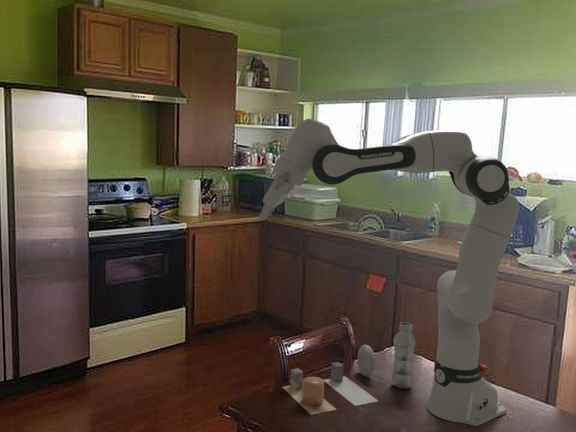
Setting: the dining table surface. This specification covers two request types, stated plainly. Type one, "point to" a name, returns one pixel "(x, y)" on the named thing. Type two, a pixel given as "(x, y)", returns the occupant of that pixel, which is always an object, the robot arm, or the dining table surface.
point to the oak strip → (296, 393)
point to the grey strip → (347, 387)
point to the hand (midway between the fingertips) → (264, 217)
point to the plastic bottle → (403, 357)
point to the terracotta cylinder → (313, 391)
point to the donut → (366, 360)
